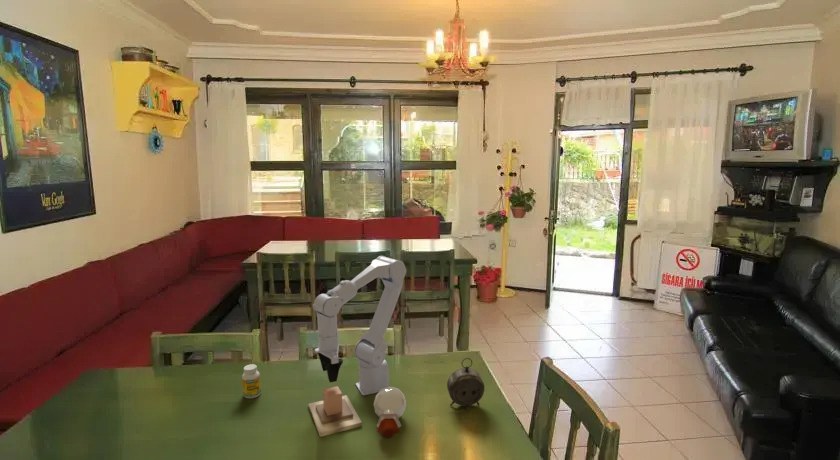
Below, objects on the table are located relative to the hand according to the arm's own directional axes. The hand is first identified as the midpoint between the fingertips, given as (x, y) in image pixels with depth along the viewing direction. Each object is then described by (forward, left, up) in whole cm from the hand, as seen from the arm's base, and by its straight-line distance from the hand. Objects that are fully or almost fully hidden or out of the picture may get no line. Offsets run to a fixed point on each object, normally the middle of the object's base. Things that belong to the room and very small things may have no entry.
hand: (329, 375), depth 142 cm
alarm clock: (-38, +18, -10) cm, 43 cm away
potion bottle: (-13, +16, -10) cm, 23 cm away
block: (+1, +6, -8) cm, 10 cm away
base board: (0, +6, -10) cm, 12 cm away
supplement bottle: (+21, -17, -10) cm, 29 cm away
